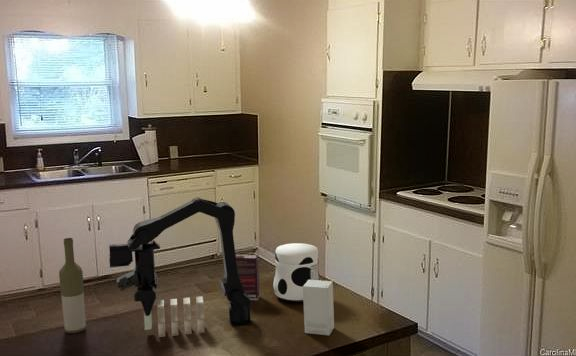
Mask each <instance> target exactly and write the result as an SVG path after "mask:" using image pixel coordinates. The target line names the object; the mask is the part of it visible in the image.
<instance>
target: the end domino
mask: <svg viewBox="0 0 576 356" xmlns="http://www.w3.org/2000/svg"><path fill="white" fill-rule="evenodd" d="M195 302H196V303H195V304H196V305H195V306H196V326H197V328H196V329H197V334H202V333H204V334H205V333H206V332H205V331H206V330H205V313H204V312H205V310H204V309H205V307H204V297H203V296H200V295H199V296H195Z"/></svg>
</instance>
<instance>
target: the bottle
mask: <svg viewBox="0 0 576 356" xmlns="http://www.w3.org/2000/svg"><path fill="white" fill-rule="evenodd" d="M63 247H64V259H65V262H64V264H63V265H62V266H61V268H60V269H59V272H58V277H59V285H60V286H59V287H60V296H61V306H62V315H63V325H64V331H65V333H68V334H76V333H81V332H83V331H84V330H85V329H86V326H87V325H86V311H85V310H86V307H85V306H86V305H85V293H84V290H85V289H84V288H85V287H84V274H83V268H82V267H81V266H80V265H79V264H78V263H77V262H76V261H75V252H74V239H73V237H66V238H65V237H64V238H63Z"/></svg>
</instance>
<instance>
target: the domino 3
mask: <svg viewBox="0 0 576 356" xmlns="http://www.w3.org/2000/svg"><path fill="white" fill-rule="evenodd" d="M169 301H170V302H169V303H170V321H171V336H172V337H173V336H179V334H180V333H179V316H178V315H179V314H178V299H177V298H170V299H169Z"/></svg>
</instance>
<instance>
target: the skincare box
mask: <svg viewBox="0 0 576 356" xmlns="http://www.w3.org/2000/svg"><path fill="white" fill-rule="evenodd" d="M334 311H335V310H334V285H333V280H332V281H331V280H321V279H320V280H308V281H307V282H306V283H305V285H304V286H303V317H304V318H303V323H304V333H305V334H310V335H319V336H330V335H331V333H332V332H333V330H334V328H335V313H334Z"/></svg>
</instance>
